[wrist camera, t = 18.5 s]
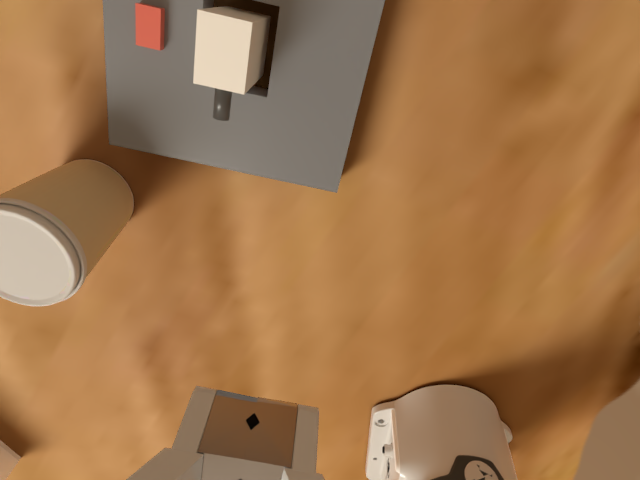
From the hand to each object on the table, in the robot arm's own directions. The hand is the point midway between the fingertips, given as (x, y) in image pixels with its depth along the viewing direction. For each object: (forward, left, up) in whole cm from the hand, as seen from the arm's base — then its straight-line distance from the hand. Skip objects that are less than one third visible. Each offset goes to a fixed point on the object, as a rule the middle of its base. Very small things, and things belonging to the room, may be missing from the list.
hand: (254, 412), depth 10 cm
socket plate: (+4, +7, -31) cm, 32 cm away
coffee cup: (-13, +20, -31) cm, 39 cm away
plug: (+4, +7, -31) cm, 32 cm away
